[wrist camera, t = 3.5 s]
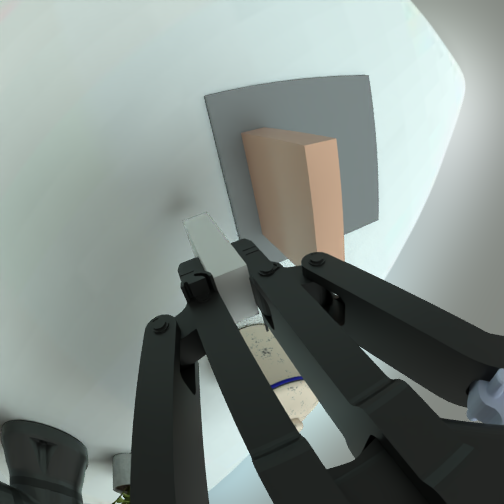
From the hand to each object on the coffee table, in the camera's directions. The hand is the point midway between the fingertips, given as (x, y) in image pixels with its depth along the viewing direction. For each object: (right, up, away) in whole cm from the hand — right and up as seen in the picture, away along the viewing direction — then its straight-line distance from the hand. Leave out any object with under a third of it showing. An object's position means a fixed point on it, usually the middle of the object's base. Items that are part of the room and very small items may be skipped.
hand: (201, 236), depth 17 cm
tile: (+4, +5, +6) cm, 9 cm away
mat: (+8, +7, +8) cm, 13 cm away
